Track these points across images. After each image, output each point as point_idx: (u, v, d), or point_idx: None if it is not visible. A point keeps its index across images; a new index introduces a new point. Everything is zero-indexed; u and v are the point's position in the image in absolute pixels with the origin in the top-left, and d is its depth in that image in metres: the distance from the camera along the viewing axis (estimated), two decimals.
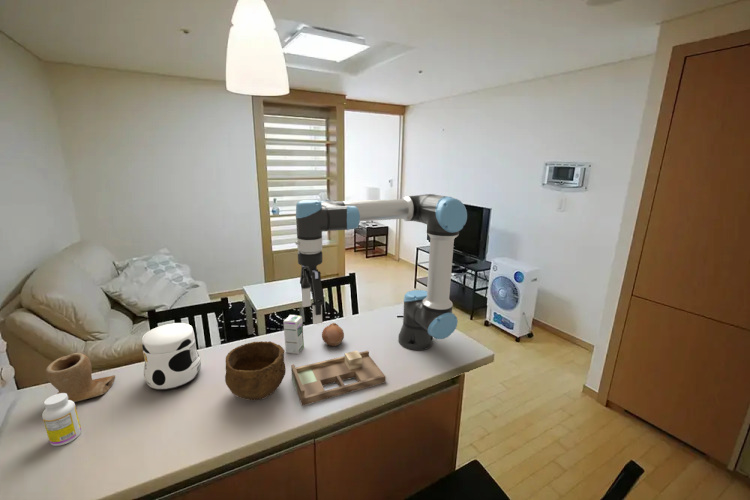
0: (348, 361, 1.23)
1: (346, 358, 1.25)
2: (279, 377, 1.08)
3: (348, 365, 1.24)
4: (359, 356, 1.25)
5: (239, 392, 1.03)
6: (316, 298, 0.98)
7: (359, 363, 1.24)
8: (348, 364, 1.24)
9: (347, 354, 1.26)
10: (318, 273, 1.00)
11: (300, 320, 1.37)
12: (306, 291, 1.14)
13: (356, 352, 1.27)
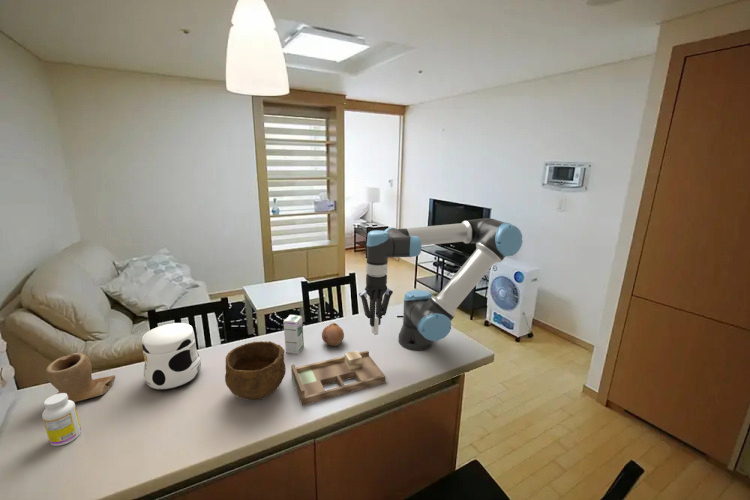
0: (348, 361, 1.23)
1: (346, 358, 1.25)
2: (279, 377, 1.08)
3: (348, 365, 1.24)
4: (359, 356, 1.25)
5: (239, 392, 1.03)
6: (364, 311, 1.24)
7: (359, 363, 1.24)
8: (348, 364, 1.24)
9: (347, 354, 1.26)
10: (361, 296, 1.20)
11: (300, 320, 1.37)
12: None
13: (356, 352, 1.27)
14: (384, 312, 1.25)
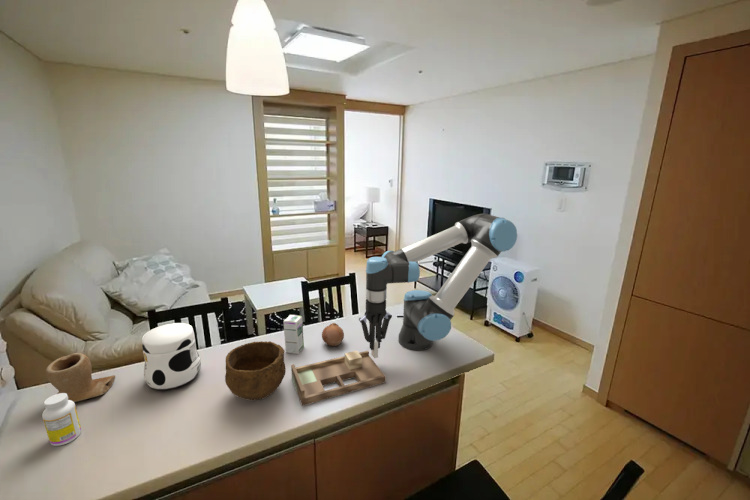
0: (348, 361, 1.23)
1: (346, 358, 1.25)
2: (279, 377, 1.08)
3: (348, 365, 1.24)
4: (359, 356, 1.25)
5: (239, 392, 1.03)
6: (364, 335, 1.26)
7: (359, 363, 1.24)
8: (348, 364, 1.24)
9: (347, 354, 1.26)
10: None
11: (300, 320, 1.37)
12: None
13: (356, 352, 1.27)
14: (383, 336, 1.28)
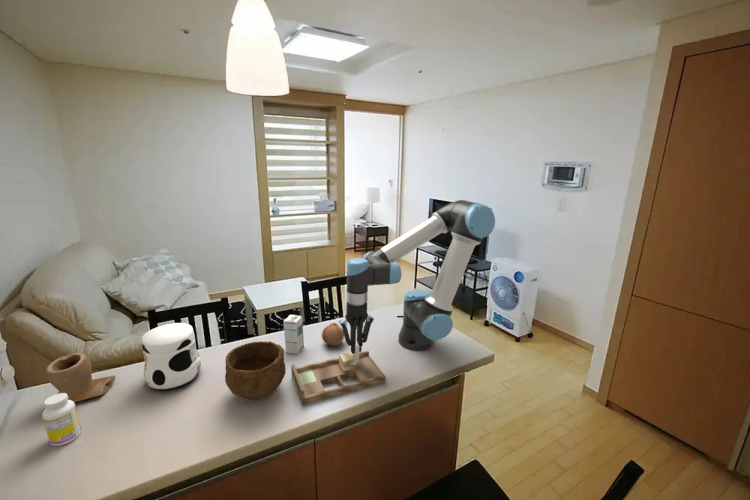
0: (342, 362, 1.22)
1: (341, 359, 1.24)
2: (279, 377, 1.08)
3: (343, 366, 1.23)
4: (354, 357, 1.24)
5: (239, 392, 1.03)
6: (345, 339, 1.23)
7: (353, 365, 1.23)
8: (343, 366, 1.23)
9: (342, 355, 1.25)
10: None
11: (300, 320, 1.37)
12: None
13: (351, 353, 1.26)
14: (365, 339, 1.25)
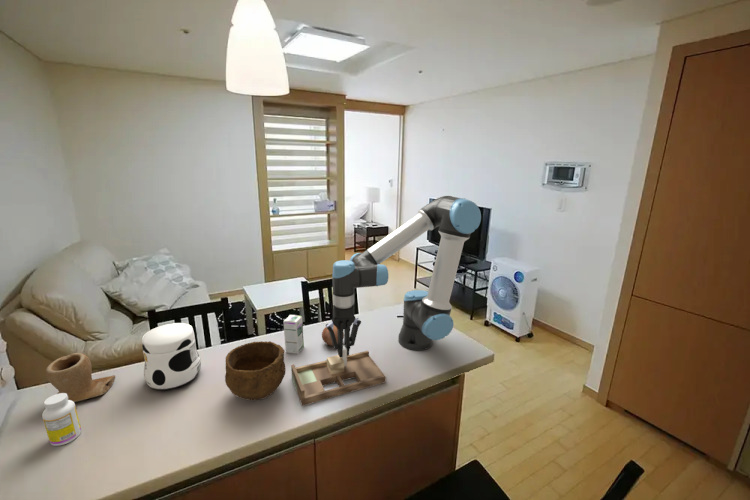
0: (330, 365, 1.20)
1: (328, 362, 1.22)
2: (279, 377, 1.08)
3: (330, 370, 1.21)
4: (341, 360, 1.22)
5: (239, 392, 1.03)
6: (332, 342, 1.21)
7: (341, 368, 1.21)
8: (330, 369, 1.21)
9: (329, 358, 1.23)
10: (327, 328, 1.17)
11: (300, 320, 1.37)
12: None
13: (338, 356, 1.24)
14: (352, 342, 1.23)
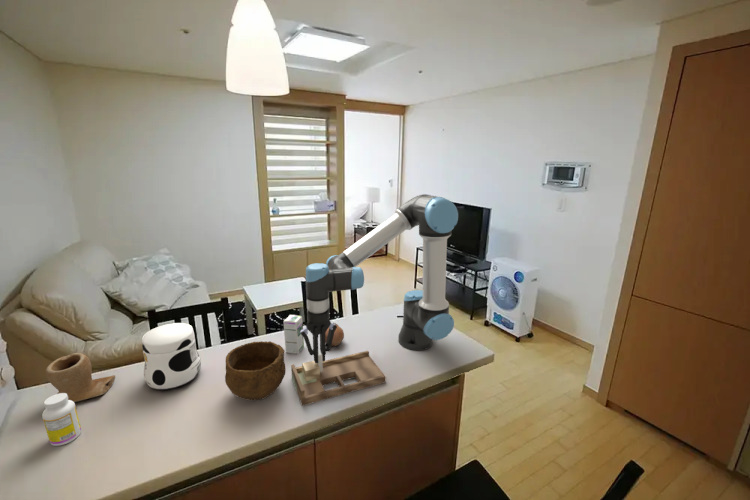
0: (305, 372, 1.17)
1: (303, 368, 1.18)
2: (279, 377, 1.08)
3: (305, 376, 1.17)
4: (317, 366, 1.18)
5: (239, 392, 1.03)
6: (307, 348, 1.18)
7: (316, 374, 1.18)
8: (305, 375, 1.17)
9: (304, 364, 1.19)
10: (301, 333, 1.13)
11: (300, 320, 1.37)
12: None
13: (314, 362, 1.21)
14: (328, 348, 1.19)
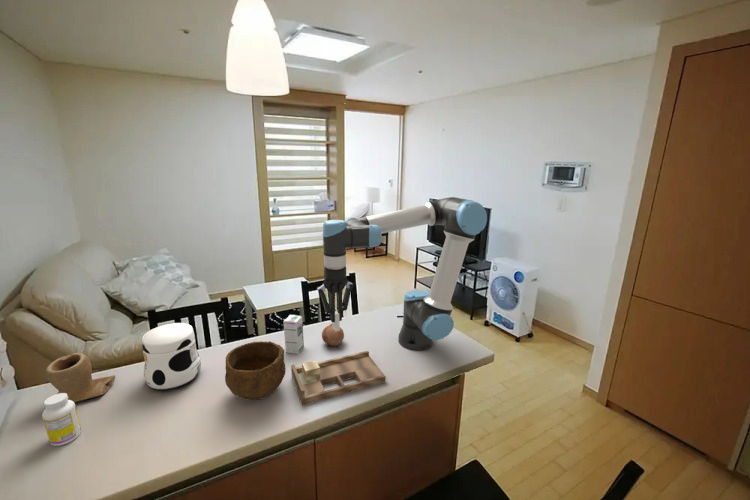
0: (305, 372, 1.17)
1: (303, 368, 1.18)
2: (279, 377, 1.08)
3: (305, 376, 1.17)
4: (317, 366, 1.18)
5: (239, 392, 1.03)
6: (324, 306, 1.17)
7: (316, 374, 1.18)
8: (305, 375, 1.17)
9: (304, 364, 1.19)
10: None
11: (300, 320, 1.37)
12: None
13: (314, 362, 1.21)
14: (345, 307, 1.18)
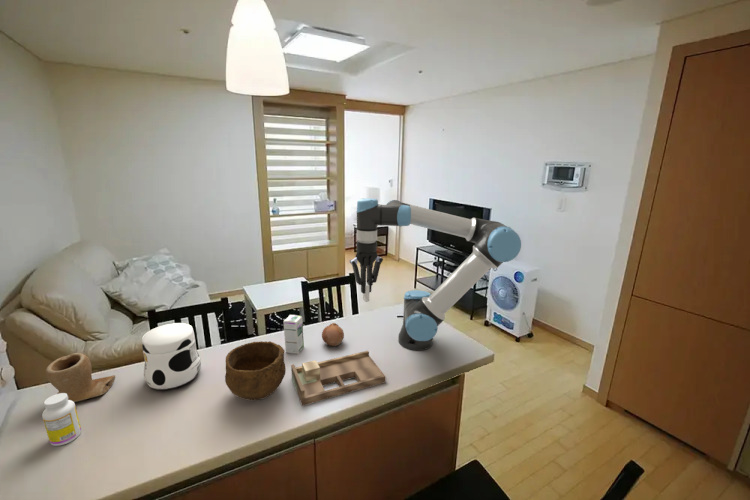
0: (305, 372, 1.17)
1: (303, 368, 1.18)
2: (279, 377, 1.08)
3: (305, 376, 1.17)
4: (317, 366, 1.18)
5: (239, 392, 1.03)
6: (355, 278, 1.27)
7: (316, 374, 1.18)
8: (305, 375, 1.17)
9: (304, 364, 1.19)
10: (351, 263, 1.23)
11: (300, 320, 1.37)
12: None
13: (314, 362, 1.21)
14: (375, 279, 1.28)
